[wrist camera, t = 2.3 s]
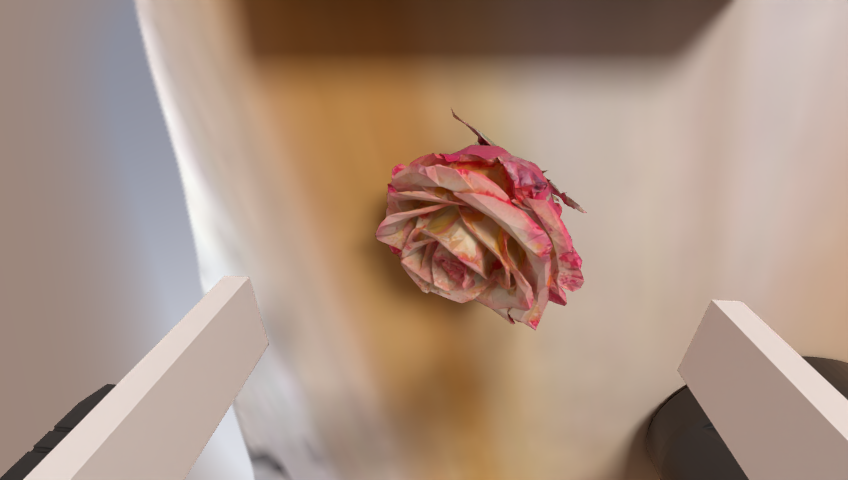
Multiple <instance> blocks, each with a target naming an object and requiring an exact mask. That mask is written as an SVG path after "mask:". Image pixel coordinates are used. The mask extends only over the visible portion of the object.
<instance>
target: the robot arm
mask: <svg viewBox="0 0 848 480" xmlns="http://www.w3.org/2000/svg"><path fill="white" fill-rule="evenodd" d="M268 345H269V344H268V340H267V337H266V333H265V330H264V326H263V323H262V320H261V316H260V313H259V309H258V306H257V302H256V299H255V295H254V292H253V289H252V285H251V282H250V278H249V277H240V276H224V277H223V278H222V279H221V280H220V281H219V282H218V283H217V284H216V285H215V286H214V287H213V288H212V289H211V290H210V291H209V292H208V293H207V294H206V295H205V296H204V297H203V298H202V299H201V300H200V301H199V303H197V304H196V305H195V306H194V307H193V308H192V309H191V310H190V311H189V312H188V314H187V315H186V316H184V317H183V319H182V320H181V321H180V322H179V323H178V324H177V325H176V326H175V327H174V328H173V329H172V330H171V331H170V332H169V333H168V334H167V335H166V336H165V337H164V338H163V339H162V340H161V341H160V342H159V343H158V344H157V345H156V346H155V347H154V348H153V349H152V350H151V351H150V352H149V353H148V354H147V355H146V356H145V357H144V358H143V359H142V360H141V361H140V362H139V363H138V364H137V365H136V366H135V367H134V368H133V369H132V370H131V371H130V372H129V373H128V374H127V375H126V376H125V377H124V378H123V379H122V380H121V381H120V382H119V383H118V384H117V385H112V384H107V385H105V386H104V387H102V388H101V389H100V390H98V391H97V392H95V393H93V394H92V395H90V396H89V397H87V398H86V399H84V400H83V401H81V402H80V403H78V404H77V405H76V406H75V407H74V408H73V409H72V410H71V411H70V412H69V413H68V414H67V415H66V416H65V417H64V418H63V419H62V420H61V421H59V422H58V423H57V425H55V426H54V427H55V428H54V430H53V431H49V432H48V433H47V434H46V435H45V436H44V437H43V438H42V439H41V440H40V441H39V442H38V443H37V444H36V445H34V449H33V450H32V451H31V452H27V453H26V454H25V455H24V456H23V457H22V458H21V459H20V460H19V461H18V462H17V463H16V464H15V465H14V466H12V467H11V468H10V469H9V470H8V471H7V472H6V473H5V474H4V475H3V476H2V477H1V478H0V480H184V479H185V478H186V476H187V474H188V473H189V471H190V470H191V468H192V466H193V465H194V463H195V462H196V460H197V458H198V457H199V455H200V454H201V452H202V450H203V448H204V447H205V446H206V444H207V442H208V441H209V439H210V437H211V436H212V434H213V433H214V431H215V430H216V428H217V426H218V425H219V423H220V421H221V420H222V418H223V417H224V415H225V413H226V412H227V410H228V409H229V407H230V405H231V404H232V402H233V401H234V399H235V397H236V396H237V394H238V393H239V391H240V389H241V388H242V386H243V385H244V383H245V381H246V380H247V378H248V377H249V375H250V373H251V372H252V370H253V369H254V367H255V365H256V364H257V362H258V361H259V359H260V357H261V356H262V354H263V353H264V351H265V349H266V348H267V346H268ZM677 371H678V372H679V374H680V375H681V377H682V378H683V380H684V381H685V383H686V384H687V386H688V387H687V388H685V389H684V390H682V391H681V392H679V393H678V394H677V395H675V396H674V397H673V398H672V399H670V400H669V401H668V402H667V403H666V404H665V405H664V406H663V407H662V408H661V409H660V410H659V412H658V413H657V414H656V416H655V417H654V419H653V421H652V422H651V424H650V427H649V430H648V433H647V449H648V453H649V455H650V457H651V460H652V462H653V464H654V466H655V468H656V470H657V473H658V475H659V477H660V479H661V480H848V363H845V362H842V361H837V360H832V359H826V358H817V357H801V356H800V355H799V354H798V353H797V352H796V351H794V350H793V349H792V348H791V347H790V346H789V345H788V344H787V343H786V342H785V341H784V340H783V339H782V338H781V337H779V336H778V335H777V334H776V333H775V332H774V331H773V330H772V329H771V328H770V327H769V326H768V325H767V324H766V323H764V322H763V321H762V320H761V319H760V318H759V317H758V316H757V315H756V314H755V313H754V312H753V311H752V310H750V309H749V308H748V307H747V306H746V305H745V304H744V303H743V302H742V301H726V300H711V302H710V304H709V307H708V309H707V311H706V313H705V315H704V317H703V319H702V321H701V323H700V325H699V327H698V329H697V331H696V333H695V335H694V337H693V339H692V341H691V343H690V345H689V347H688V350H687V352H686V354H685V356H684V358H683V360H682V362H681V364H680V366H679V368H678V370H677Z"/></svg>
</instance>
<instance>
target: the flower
mask: <svg viewBox="0 0 848 480" xmlns="http://www.w3.org/2000/svg"><path fill="white" fill-rule="evenodd" d="M451 110H452V109H451ZM452 113H453V117H454V118H456V119H458V120H459V121H461V122H463V123H465V124H466V125H467V126H468V127H469V128H470V129H471V130H472V131H473V132H474V133H475V134H476V135H477V136H478V142H475V145H470V146H468V147H466V148H464V149H462V150H460V151H458V152H456V153H453V154H451V155H449V154H439V155H437V154H434V153H432V154H429V155H426V156H422V157H420V158H418V159H416V160H415V161H413V162H411V163H410V165H409V166H408V167H406V166H404V165H403V164H398V165H397V166H395V167H394V168H393V169H392V182H391V183H390V184H388V193H387V204H388V205H389V207H388V208H387V210H386V218H385V219H384V220H383V221H382V222H381V224H380V225H379V227H378V229H377V232H376V233H375V235H376V237H377V240H379V241H381V242H384V243H386V244H389V248H390V249H391V251H392V252H393V253H394V254H399V255H398V256H399V257H400V259H401V265H402V266H403V268H404V269H405V271H406V272H407V274H408V275H409V276H410V277H411V278H412V280H413V281H414V282H415V283H416V284H417V285H418V286H419V288H420V289H421V290H422V292H425V293H428V292H430V291H431V292H432V293H435V294H438V295H440V296H443V297H445V298H448V299H450V300H453V301H457V302H460V303H464V302H467V301H470V300H472V299H473V300H476V301H478V302H480V303H482V304H484V305H485V306H487V307H489V308H491V309H493V310H494V311H495V312H497V313H498V314H500V315H501V316H502V317H503V318H505V319H506V320H507V321H509V322H510V323H511V324H515V322H514V321H513V319H515V320H516V321H518V322H523V323H525V324H526V325H528V326H530V327H531V328H533V329H534V330H536V328H537V325H538V323H539V321H540V318H541V316H542V314H543V311H544V309H545V307H546V305H547V302H548V300H549V301H552V302H554V303H557V304H560V305H563V306H565V305H566V304H567V302H566V295H565V293H564V291H563V290H562V289H561V287H562V288H565V289H567V290H570V291H572V292H573V291H575V290H577V289H580V288H581V286H582V284H583V282H584V279H583V276H582V273H581V271H580V269H581V264H582V260H581V258H580V257H579V255H578V254H577V252H576V251H575V249H574V248H573V245H572V239H571V237H570V235H569V233H568V231H567V229H566V227H565V226H564V224H563V222H562V220H561V219H560V215H561V213H562V207H561V206H560V204H559V203H554V200H556V201H558V202H559V200H558V199H557V198H556V197H555V196H554V195H557V196H559V197H560V198H561V199H562V200H563V202H564V204H566V205H567V206H570V207H572V208H573V209H577V210H579V211H580V212H583V213H587V212H585V211H584V210H583V209H582V208H581V207H580V206H579V205H578V204H577V203H576V202H574V201H573V200H572V199H570V198H569V197H567V196H566V195H565V193H560V192H559V191H558V189H557V188H556V186H555V185H554V184H553V183H552V182H550V180H548V179H547V178H545V177H544V176H543V173H544V172H546V171H548V170H546V171H541V170H540V169H539V167H538V166H537V165H536V164H534V163H532V162H529V161H526V160H523V159H520V158H518V157H515V156H512V155H511V154H510V153H508V152H507V151H506V150H505V149H503V148H501V147H499V146H496V145H495V144H494V143H493V142H492V141H491V140H490V139H488V138H487V137H486V136H485V135H484V134H483V133H481V132H480V131H478V130H477V129H475V128H473V127H472V126H470V125H469V124H467V123H466V122H464V121H462V120H461V119H459V118H458V117H457V116H456V115H455V114H454V112H453V110H452ZM478 143H479V144H480V145H479V144H478ZM552 193H553V194H554V195H552ZM570 251H572V252H570ZM509 309H510V311H509ZM508 312H510V315H509V314H508Z"/></svg>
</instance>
